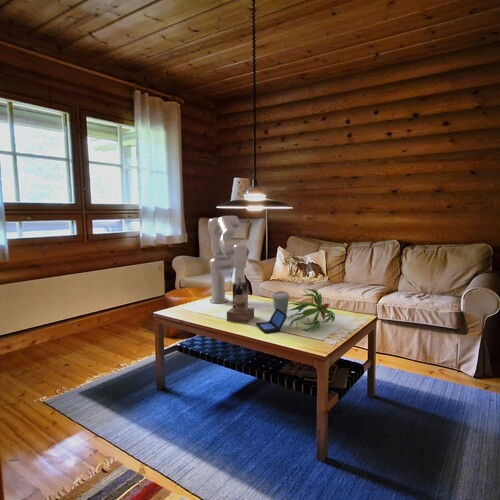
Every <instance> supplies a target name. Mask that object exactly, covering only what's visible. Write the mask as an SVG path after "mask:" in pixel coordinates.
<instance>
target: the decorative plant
mask: <svg viewBox="0 0 500 500" xmlns="http://www.w3.org/2000/svg"><path fill="white" fill-rule="evenodd" d="M306 290H307V291H310V292H312V293H307V291H306ZM306 290H304V292H305V294H303V295H302V296H301V297H311V298H310V299H308V300H307V301H305V302H299V301H298V302H297V301H296V302H295V301H294V302H288V305H293V306H296V307H292V308H291V309H289V310H288V309H287V312H291V311H297V310H298V311H297V312H295V313H294V314H291V315H290V316H289V318H288V319H287V321H289V320H290V319H292V320H291V322H290V323H289V327H288V329H290V328H291V327H292V324H293V323H294V322H296V321H297V322H296V323H295V327H296V329H295V330H297V328H298V323H299V322H301V323H302V324H303V325H305V326H309V327H308V328H303V329H302V328H301V327H299V329H300V330H302V331H306V332H308V333H311V332H312V331H313V329H314V330H318V329H319V327H320V326H321V324H322V325H323V324H324V323H328V322H330V321H331V322H330V324H332V323H333V322H334V321H335V319H336V314H335V313H334V312H333V311H332V310H329V309H328V307H330V304H329V303H324V304H322V302H323V297H322V294H321V293H319V291H318V290H316V289H311V288H306ZM312 300H313V301H314V303H312V302H309V301H312ZM308 307H314V308H308ZM305 308H308V309H305ZM304 309H305V310H304ZM301 311H302V312H301ZM312 315H314V317H313V320H312V321H310V320H309V318H308V317H309V316H312ZM295 316H297V317H296V318H294V317H295ZM319 316H321V318H322V321H321V322H320V320H318V319H319ZM306 318H307V321H308V322H303V321H302V320H303V319H306ZM298 321H299V322H298ZM323 326H327V325H323Z"/></svg>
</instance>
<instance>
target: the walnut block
mask: <svg viewBox="0 0 500 500" xmlns="http://www.w3.org/2000/svg"><path fill="white" fill-rule="evenodd" d="M253 318H255V307H251V306H250V307H249V306H248V310H247V311H233V307H231V308H230V309H228V310H227V311H226V322H231V323H241V324H249V322H251V320H252V319H253Z"/></svg>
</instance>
